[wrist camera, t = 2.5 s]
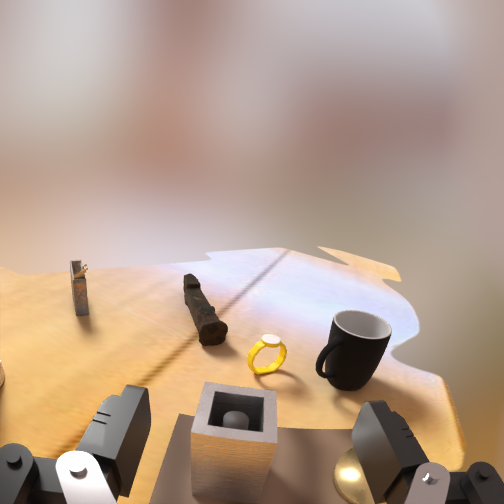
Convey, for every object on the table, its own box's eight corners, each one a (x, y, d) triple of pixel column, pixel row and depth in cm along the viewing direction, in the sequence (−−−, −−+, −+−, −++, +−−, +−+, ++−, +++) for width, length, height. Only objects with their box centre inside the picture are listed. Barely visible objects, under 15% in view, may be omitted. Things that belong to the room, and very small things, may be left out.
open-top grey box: (257, 503, 21) (277, 443, 18) (191, 494, 21) (190, 432, 18) (259, 457, 27) (276, 390, 24) (201, 450, 27) (204, 381, 24)
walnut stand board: (143, 532, 16) (122, 480, 14) (179, 421, 32) (178, 352, 29) (435, 528, 16) (494, 470, 13) (398, 433, 32) (431, 372, 29)
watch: (250, 380, 42) (256, 347, 40) (242, 369, 44) (247, 336, 43) (285, 372, 45) (292, 340, 43) (276, 362, 47) (282, 331, 46)
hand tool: (227, 346, 50) (230, 318, 49) (199, 348, 49) (200, 319, 47) (200, 293, 71) (202, 270, 69) (180, 293, 69) (181, 270, 68)
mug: (345, 358, 50) (360, 306, 47) (382, 384, 43) (403, 330, 40) (291, 376, 44) (304, 318, 41) (329, 411, 36) (350, 350, 34)
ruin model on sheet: (91, 316, 52) (87, 268, 50) (76, 317, 51) (72, 269, 48) (84, 292, 61) (82, 250, 59) (72, 293, 59) (69, 251, 57)
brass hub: (392, 522, 17) (428, 485, 16) (316, 488, 23) (338, 448, 21) (418, 465, 24) (447, 424, 22) (354, 439, 30) (374, 396, 28)
